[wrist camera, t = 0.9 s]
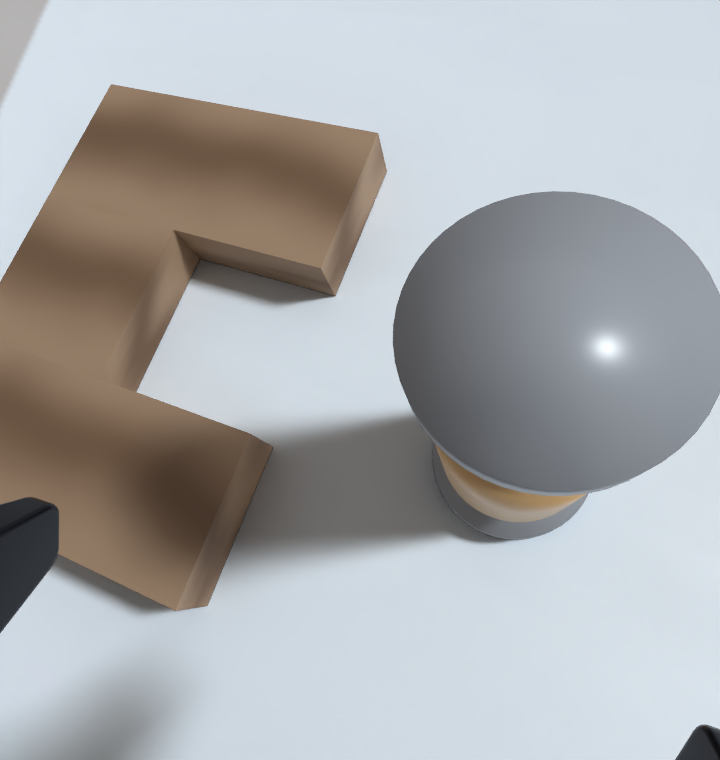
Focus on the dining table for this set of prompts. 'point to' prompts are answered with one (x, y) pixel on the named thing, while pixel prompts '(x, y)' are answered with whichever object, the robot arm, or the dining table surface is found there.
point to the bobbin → (554, 355)
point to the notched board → (159, 321)
